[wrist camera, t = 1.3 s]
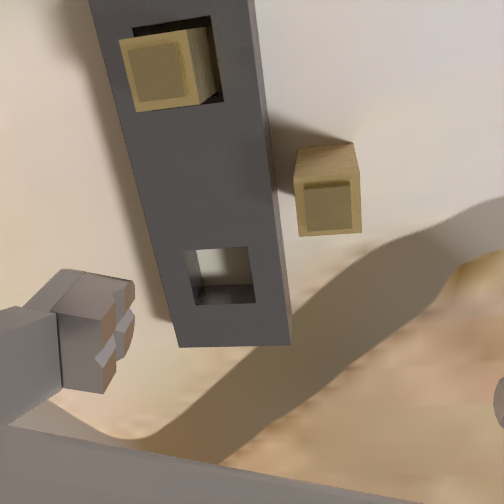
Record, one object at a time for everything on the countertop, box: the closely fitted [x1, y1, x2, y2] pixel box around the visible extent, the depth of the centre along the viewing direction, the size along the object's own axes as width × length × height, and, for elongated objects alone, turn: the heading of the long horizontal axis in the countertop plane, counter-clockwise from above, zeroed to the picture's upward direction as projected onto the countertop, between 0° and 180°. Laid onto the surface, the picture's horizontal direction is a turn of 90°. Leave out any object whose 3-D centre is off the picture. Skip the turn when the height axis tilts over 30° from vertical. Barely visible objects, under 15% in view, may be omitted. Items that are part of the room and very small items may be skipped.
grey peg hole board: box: [89, 0, 293, 348], centre depth 35 cm, size 10×30×3 cm, turn 8°
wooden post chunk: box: [293, 143, 362, 237], centre depth 32 cm, size 4×4×8 cm
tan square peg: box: [119, 26, 222, 112], centre depth 29 cm, size 4×4×8 cm
